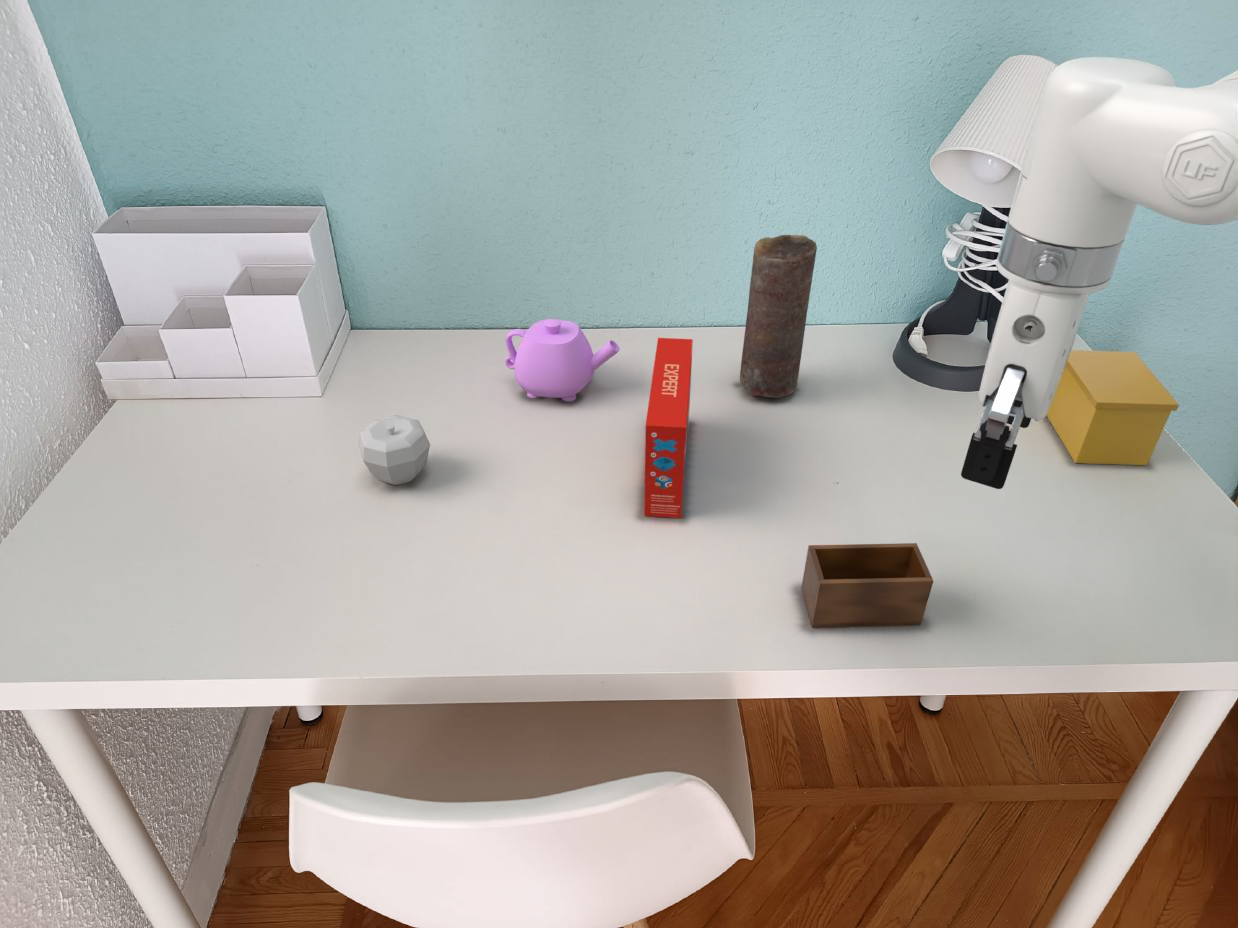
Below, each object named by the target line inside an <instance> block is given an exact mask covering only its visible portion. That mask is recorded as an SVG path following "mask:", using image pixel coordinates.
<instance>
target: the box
mask: <svg viewBox="0 0 1238 928" xmlns="http://www.w3.org/2000/svg"><path fill="white" fill-rule="evenodd" d="M1179 406H1180V404H1179V403H1178V401H1177V400H1176V399H1175V398H1174V397H1173V395H1171V393H1170V392H1169V391H1168V390H1167V388H1166V387H1165V386H1164V385H1163V384H1162V382H1160V380H1159V379H1158V378H1157V377H1156V376H1155V374H1154V373H1153V372H1152V371H1151V370H1150V368H1149V367H1148V366H1147V365H1146V363H1145V362H1144V361H1143V360H1142V359H1141V358H1140V356H1139V355H1138V354H1137V352H1136V351H1121V350H1120V351H1117V350H1116V351H1114V350H1111V351H1110V350H1078V349H1077V350H1073V349H1071V351H1070V354H1069V357H1068V360H1067V363H1066V366H1065V368H1064V371H1063V374H1062V377H1061V380H1060V382H1059V385H1058V388H1057V390H1056V393H1055V395H1054V398H1053V400H1052V403H1051V405H1050V408H1049V410H1048V413H1047V415H1046V417H1047V418H1048V421H1049V422H1050V423H1051V426H1052V427H1053V430H1055V432H1056V433H1057V436H1058V437H1059V439H1060V440H1061V442H1062V444H1063V445H1064V447H1065V448H1066V450H1067V452H1068V454H1069V455H1070V457H1071V459H1072V460H1073V462H1074V463H1075V464H1089V465H1091V464H1092V465H1122V466H1123V465H1125V466H1148V465H1149V461H1151V458H1152V455H1153V453H1154V451H1155V449H1156V447H1157V444H1158V442H1159V439H1160V437H1161V435H1162V433H1163V431H1164V428H1165V426H1166V424H1167V422H1168V419H1169V417H1170V416H1171V413H1172V411H1173V412H1176V411H1177V410H1178V408H1179Z"/></svg>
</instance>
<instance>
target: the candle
mask: <svg viewBox="0 0 1238 928" xmlns="http://www.w3.org/2000/svg"><path fill="white" fill-rule="evenodd" d="M817 250H818V245H817V242H816V241H814V239H811V238H809V237H808V236H806V235H802V234H781V235H778V236H775V237H769V236H768V237H767V236H766V237H763V238H760V239H759V240H758V241H756V242H755V244H754V248H753V255H752V266H751V274H750V281H749V292H748V303H747V312H746V318H745V329H744V336H743V344H742V345H743V346H742V352H741V359H740V361H741V362H740V371H739V383H740V385H741V387H742V389H743V390H744V391H745V392H746V393H747V394H748V395H752V396H755V397H766V398H774V399H775V398H776V399H779V398H783V397H785V396H787V395H790V394H793V393H794V391H795V390H796V389H797V386H798V380H799V375H800V368H801V360H802V355H803V353H802V352H803V346H804V338H805V332H806V323H807V316H808V310H809V304H810V303H809V302H810V296H811V289H812V283H813V277H814V276H813V275H814V269H815V263H816V257H817Z"/></svg>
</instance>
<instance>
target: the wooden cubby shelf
mask: <svg viewBox="0 0 1238 928" xmlns="http://www.w3.org/2000/svg"><path fill="white" fill-rule="evenodd" d="M933 584H934V579H933V577H932V575H931V573H930V569H929V568H928V565H927V564H926V561H925V559H924V556H923V554H922V552H921V550H920V548H919V545H918V543H917V542H913V543H912V542H908V543H907V542H904V543H900V542H899V543H859V544H855V543H854V544H852V543H851V544H812V545H811V544H810V545H808V546H807V551H806V559H805V563H804V570H803V575H802V583H801V589H800V590H801V593H802V596H803V600H804V604H805V607H806V612H807V615H808V619H809V622H810V627H811V628H813V629H815V628H816V629H819V628H854V627H857V628H858V627H859V628H860V627H861V628H862V627H864V628H865V627H899V626H901V627H902V626H904V627H905V626H908V627H909V626H921V625H922V623H923V619H924V616H925V613H926V608H927V606H928V601H929V599H930V594H931V591H932V588H933Z"/></svg>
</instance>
